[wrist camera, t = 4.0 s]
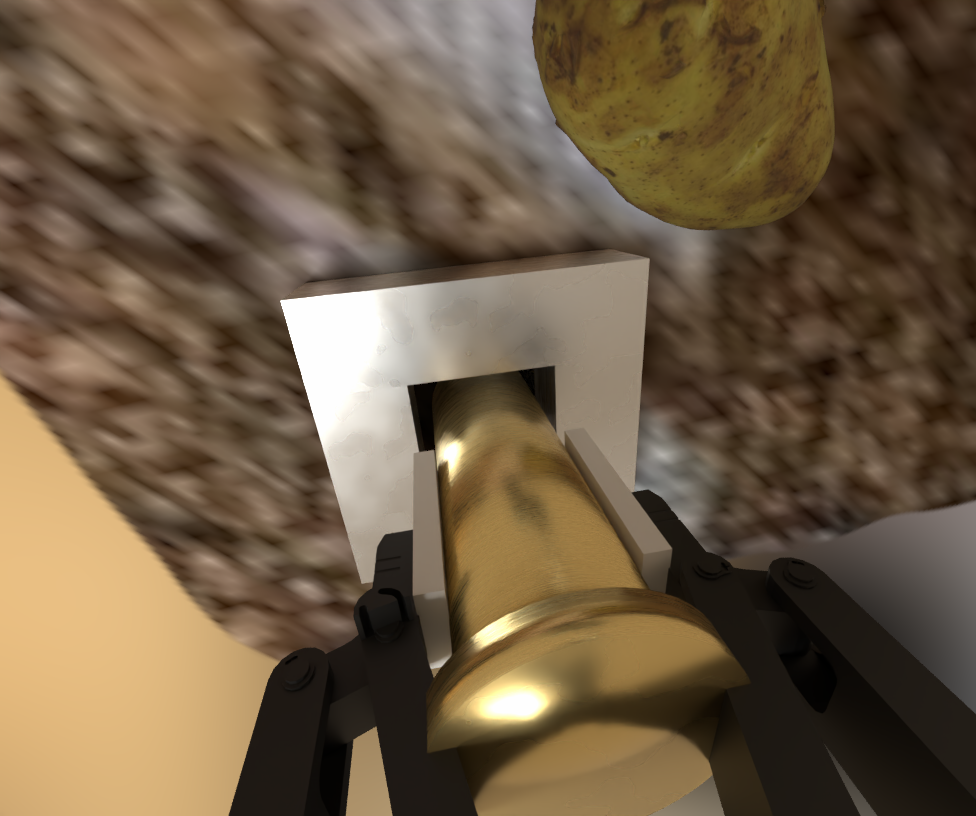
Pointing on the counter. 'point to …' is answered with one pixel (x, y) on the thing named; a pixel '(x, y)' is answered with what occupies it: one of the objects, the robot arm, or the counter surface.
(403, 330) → the housing
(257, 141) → the counter surface
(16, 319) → the counter surface
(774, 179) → the potato
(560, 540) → the gold tall flared cylinder
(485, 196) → the counter surface
